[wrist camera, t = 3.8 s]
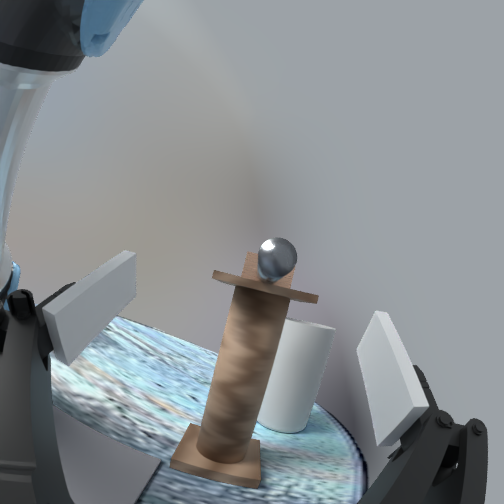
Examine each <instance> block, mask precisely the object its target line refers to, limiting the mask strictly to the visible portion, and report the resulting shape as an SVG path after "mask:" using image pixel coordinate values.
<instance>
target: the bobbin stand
mask: <svg viewBox="0 0 504 504" xmlns="http://www.w3.org/2000/svg"><path fill="white" fill-rule="evenodd" d="M212 278H213V279H216V280H218V281H220V282H223V283H226V284H230V285H234V286H236V287H235V291H234V294H233V299H232V303H231V306H230V310H229V314H228V318H227V322H226V326H225V330H224V334H223V338H222V342H221V346H220V350H219V354H218V358H217V362H216V366H215V370H214V374H213V378H212V382H211V386H210V390H209V394H208V399H207V403H206V407H205V411H204V415H203V419H202V423H201V426H198V425H195V424H191V423H190V425H189V426H188V428H187V430H186V432H185V434H184V436H183V438H182V439H181V441H180V443H179V445H178V447H177V449H176V450H175V452H174V454H173V456H172V458H171V462H170V468H173V469H176V470H179V471H182V472H185V473H189V474H192V475H196V476H199V477H203V478H207V479H211V480H215V481H219V482H223V483H228V484H233V485H238V486H244V487H249V488H256V489H257V488H258V486H259V484H260V481H261V466H260V440H256V439H251V437H252V434H253V431H254V428H255V424H256V421H257V418H258V415H259V412H260V408H261V405H262V402H263V399H264V395H265V392H266V388H267V385H268V382H269V378H270V375H271V371H272V368H273V364H274V360H275V357H276V353H277V349H278V346H279V342H280V338H281V334H282V331H283V327H284V323H285V319H286V315H287V311H288V307H289V303H290V299H291V300H295V301H299V302H308V303H317V301H318V295H314V294H309V293H305V292H301V291H297V290H292V289H288V288H284V287H280V286H276V285H272V284H268V283H264V282H259V281H255V280H251V279H247V278H243V277H239V276H235V275H231V274H228V273H224V272H220V271H216V270H214V272H213V276H212Z"/></svg>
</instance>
